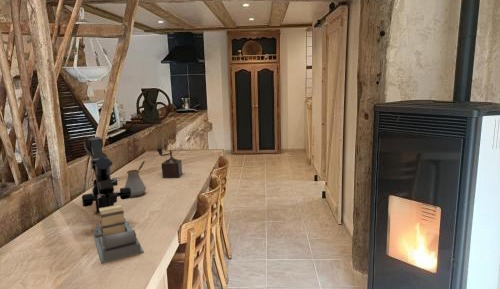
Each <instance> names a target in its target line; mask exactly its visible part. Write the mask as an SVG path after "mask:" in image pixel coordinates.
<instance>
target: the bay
mask: <svg viewBox="0 0 500 289" xmlns="http://www.w3.org/2000/svg"><path fill="white" fill-rule="evenodd" d="M124 221H125V232H122V233H118V234H113V235H109V236H104V233H102V229H101V224H100V223H97V224H95V227H96V229H94V230H93V231H92V232H93V236H94V241H95V244H96V245H95V246H96V248H97V251H98V256H99V260H100V263H101V264H104V263H108V262H109V263H110V262H113V261H117V260H120V259H124V258H129V257H132V256H136V255H140V254H143V253H144V249H143V247H142V245H141V242H140V241H139V240H138V237H137V234H136V231H135V229H133V228H132V226H131V224H130V223H129V222H128V221H127V220H126V218H125V217H124Z"/></svg>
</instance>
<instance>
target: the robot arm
mask: <svg viewBox="0 0 500 289" xmlns="http://www.w3.org/2000/svg"><path fill="white" fill-rule="evenodd" d="M83 144H84V146H83V147H84V150H86V153H87V155H88V156H89V157H91V160H90V167H91V169H92V171H93V174H94V180H93V183H92V185H93V187H92V188H91V189H92V190H91V193H85V194H82V195H81V202H82V207H90V206H92V205H93V204H94V202H95V208H96V211H95V214H100V213H99V208H103V207H109V206H114V205H115V203H117V202H118V197H120V199H121V200H128V199H131V197H130V196H131V190H130V188H129V187H125V186H124V187H125V188H124V187H120V189H119V191H116V192H115V187H116V186H118V184H119V183H118V178H117V177H111V174H110V173H111V167H112V165H113V161H112V160H111V159H110V158H108V155H107V154H106V153H104V151H103V148H104V146H105V145H104V139H103V138H101V137H99V136H92V137H88V139H86V140H84V142H83Z"/></svg>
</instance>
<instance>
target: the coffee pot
mask: <svg viewBox="0 0 500 289" xmlns="http://www.w3.org/2000/svg"><path fill="white" fill-rule="evenodd" d="M147 163H148V162H147V161H146V160H143V161H142V162H141V164H140V165H139V167H138V168H137V169H130V170H128V171H126V174H127V178H126V182H125V184H124V187H123V188H125V187H129V188H130V190H131V196H130V198H136V197H140V196H142V195H143V194H144V193H145V191H146V190H147V187H146V186H145V184H144V182H143V180H142V178H141V176H140V175H139V173H140V170H141V169H142V168H143V166H144V165H145V164H147Z"/></svg>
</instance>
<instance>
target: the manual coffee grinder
mask: <svg viewBox="0 0 500 289" xmlns="http://www.w3.org/2000/svg"><path fill="white" fill-rule="evenodd" d="M156 152H157V153H158V155H159V157H164V156H165V157H166V156H169V155H170V157H169V158H168V159H165V160H164V161H163V162H162V163H161V164H160V165H161V173H162V179H180V178H181V176H182V175H183V164H182V159H176V158H174V157H173V154H172V153H173V152H172V149H170V150H169V153H165V154H164V153H163V147H162V146H158V147H156Z"/></svg>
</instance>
